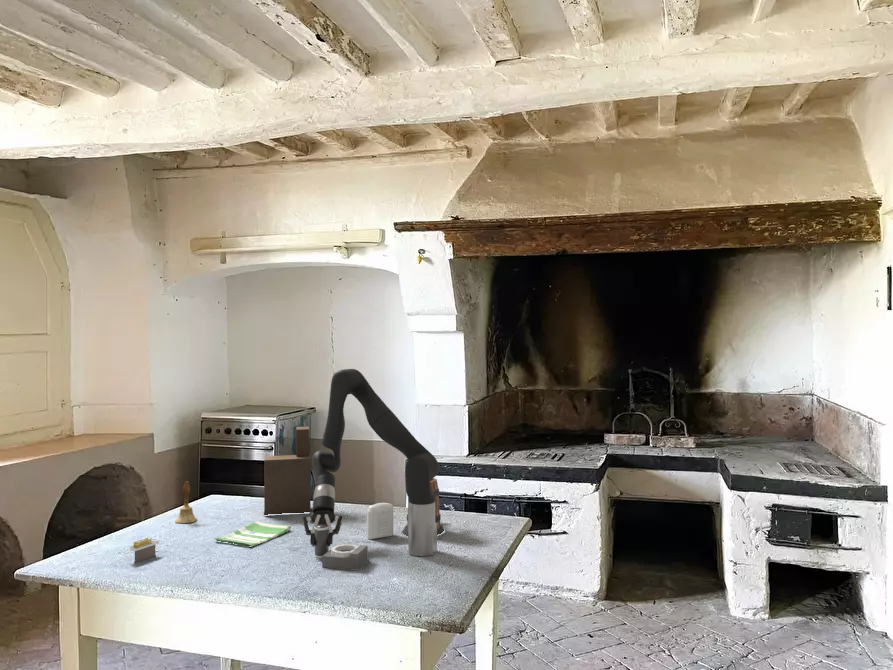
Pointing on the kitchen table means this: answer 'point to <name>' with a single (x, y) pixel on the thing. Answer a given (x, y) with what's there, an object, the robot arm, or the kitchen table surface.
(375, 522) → the photo printer
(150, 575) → the kitchen table surface
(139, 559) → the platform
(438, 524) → the tankard
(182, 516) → the hand bell
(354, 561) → the camera body
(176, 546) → the kitchen table surface
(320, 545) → the lens
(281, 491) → the brown box with post
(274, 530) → the dish towel
